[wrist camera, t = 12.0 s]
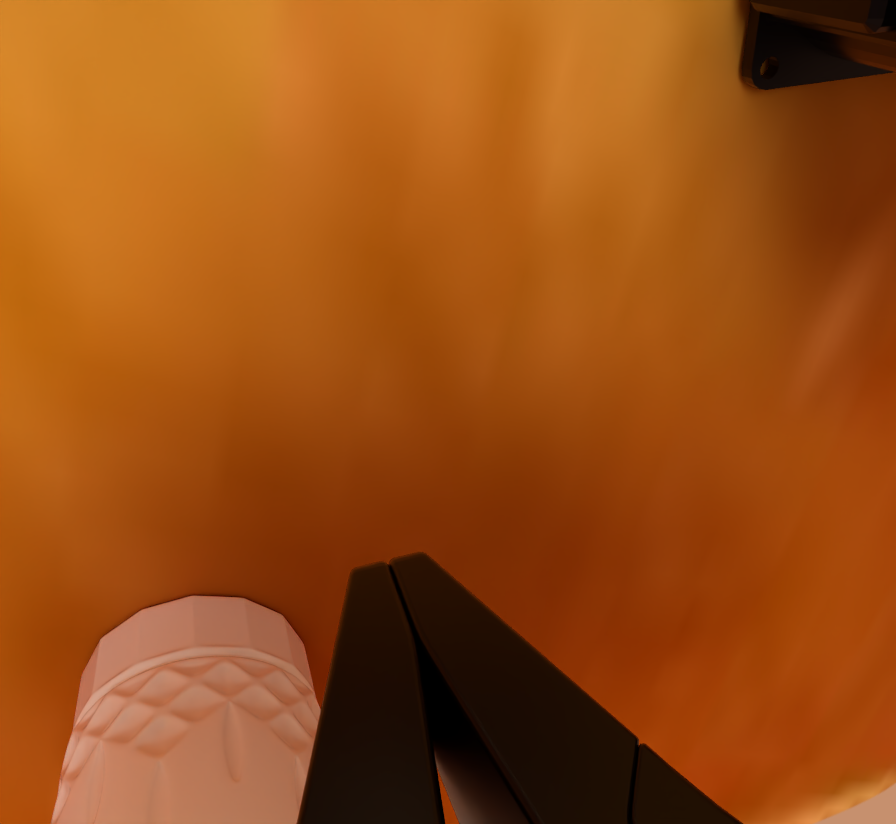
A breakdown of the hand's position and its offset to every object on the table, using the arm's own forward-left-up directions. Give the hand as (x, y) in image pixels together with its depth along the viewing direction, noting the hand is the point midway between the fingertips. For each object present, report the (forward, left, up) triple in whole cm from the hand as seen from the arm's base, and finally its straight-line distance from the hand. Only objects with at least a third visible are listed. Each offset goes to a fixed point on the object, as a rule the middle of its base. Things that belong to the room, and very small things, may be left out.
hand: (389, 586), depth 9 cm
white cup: (+5, +14, -12) cm, 19 cm away
